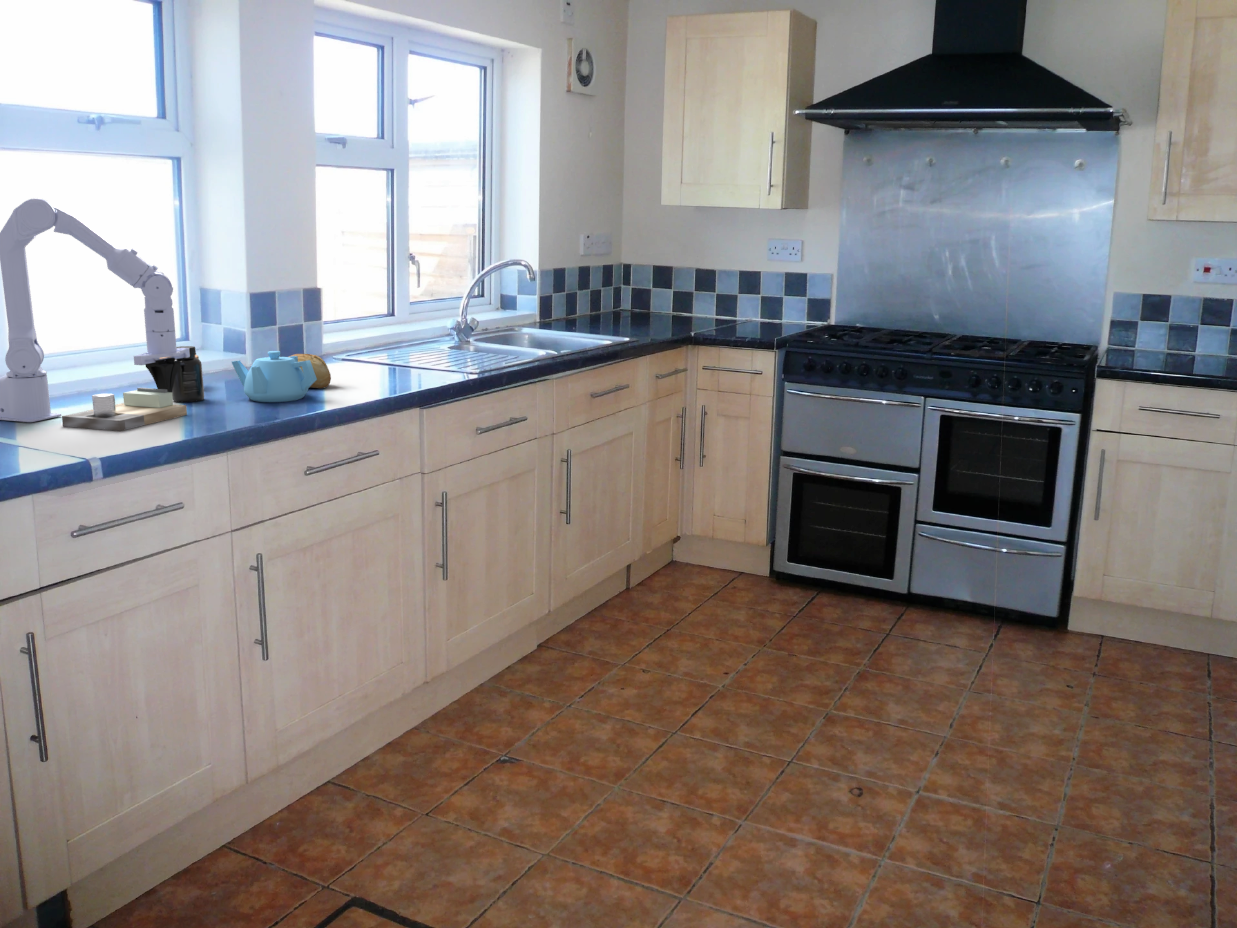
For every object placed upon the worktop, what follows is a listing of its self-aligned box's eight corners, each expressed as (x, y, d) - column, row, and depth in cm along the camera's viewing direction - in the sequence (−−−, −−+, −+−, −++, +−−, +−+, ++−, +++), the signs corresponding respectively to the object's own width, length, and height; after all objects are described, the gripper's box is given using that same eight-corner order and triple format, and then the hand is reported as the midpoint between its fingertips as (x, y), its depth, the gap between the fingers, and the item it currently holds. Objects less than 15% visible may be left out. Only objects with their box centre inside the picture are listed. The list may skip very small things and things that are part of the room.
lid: (124, 405, 232) (122, 389, 231) (138, 402, 236) (136, 387, 235) (159, 407, 229) (158, 392, 228) (173, 404, 233) (171, 389, 232)
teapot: (251, 406, 245) (248, 357, 242) (232, 396, 257) (229, 349, 255) (320, 400, 253) (317, 352, 251) (298, 391, 265) (295, 345, 263)
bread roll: (287, 382, 279) (285, 350, 277) (340, 385, 275) (339, 353, 273) (264, 388, 270) (262, 355, 268) (319, 391, 266) (317, 357, 264)
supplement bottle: (208, 398, 254) (204, 345, 252) (198, 403, 248) (194, 349, 245) (178, 398, 254) (174, 345, 252) (167, 403, 248) (162, 348, 245)
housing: (62, 426, 220) (61, 416, 220) (132, 410, 238) (131, 401, 237) (120, 431, 216) (119, 420, 215) (187, 414, 233) (186, 405, 233)
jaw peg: (90, 426, 221) (87, 396, 219) (105, 422, 224) (102, 393, 223) (106, 427, 219) (103, 397, 218) (121, 424, 223) (118, 394, 222)
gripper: (151, 335, 226) (157, 401, 229) (199, 328, 239) (204, 391, 242) (123, 333, 228) (129, 399, 231) (172, 327, 242) (177, 389, 245)
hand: (165, 395), depth 237 cm, fingers closed
